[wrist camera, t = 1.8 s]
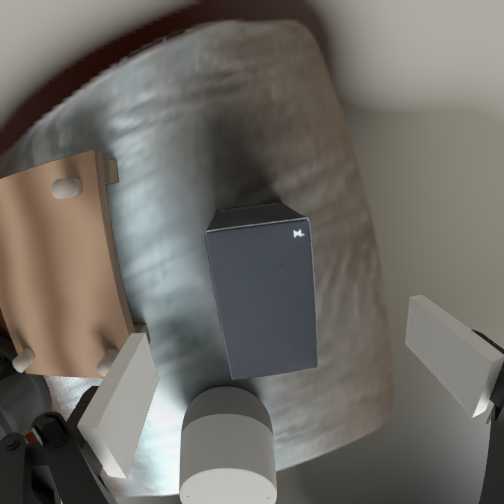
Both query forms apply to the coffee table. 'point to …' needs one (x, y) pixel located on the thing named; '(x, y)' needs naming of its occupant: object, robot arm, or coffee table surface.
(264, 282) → the small box
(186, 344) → the coffee table surface
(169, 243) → the coffee table surface
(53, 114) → the coffee table surface
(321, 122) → the coffee table surface
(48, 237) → the pegged wooden board
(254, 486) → the smart speaker
